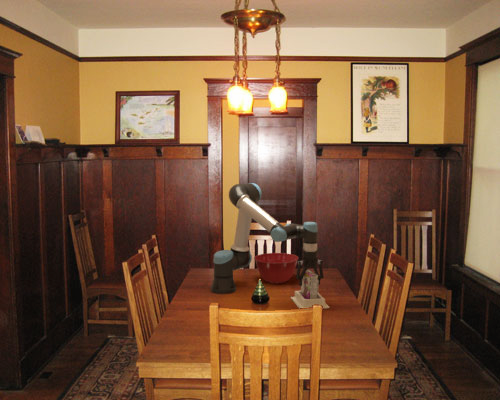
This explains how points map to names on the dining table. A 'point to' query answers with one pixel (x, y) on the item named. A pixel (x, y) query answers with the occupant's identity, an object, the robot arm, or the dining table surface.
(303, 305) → the beige shallow square tray
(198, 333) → the dining table surface
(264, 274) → the mixing bowl
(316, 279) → the candy bar box
